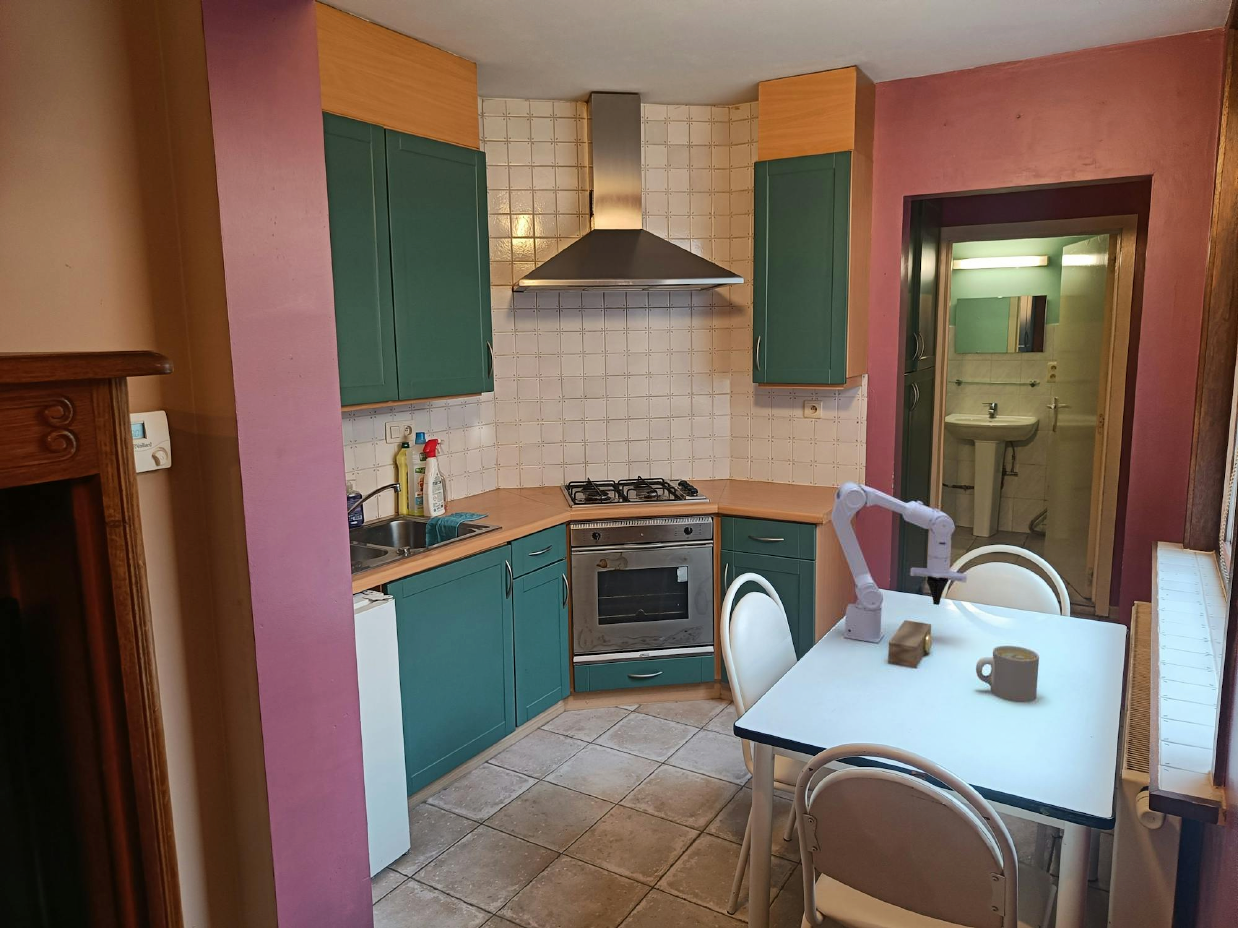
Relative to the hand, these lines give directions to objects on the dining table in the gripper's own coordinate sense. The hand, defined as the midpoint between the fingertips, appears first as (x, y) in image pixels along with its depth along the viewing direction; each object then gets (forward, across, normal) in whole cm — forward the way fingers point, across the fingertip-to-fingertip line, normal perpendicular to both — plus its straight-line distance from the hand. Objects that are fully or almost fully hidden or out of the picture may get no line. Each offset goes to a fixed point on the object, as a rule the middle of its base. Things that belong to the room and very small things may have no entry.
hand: (936, 603), depth 241 cm
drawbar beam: (+10, -4, -14) cm, 18 cm away
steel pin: (+10, -4, -12) cm, 16 cm away
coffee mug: (+11, +21, -29) cm, 37 cm away
